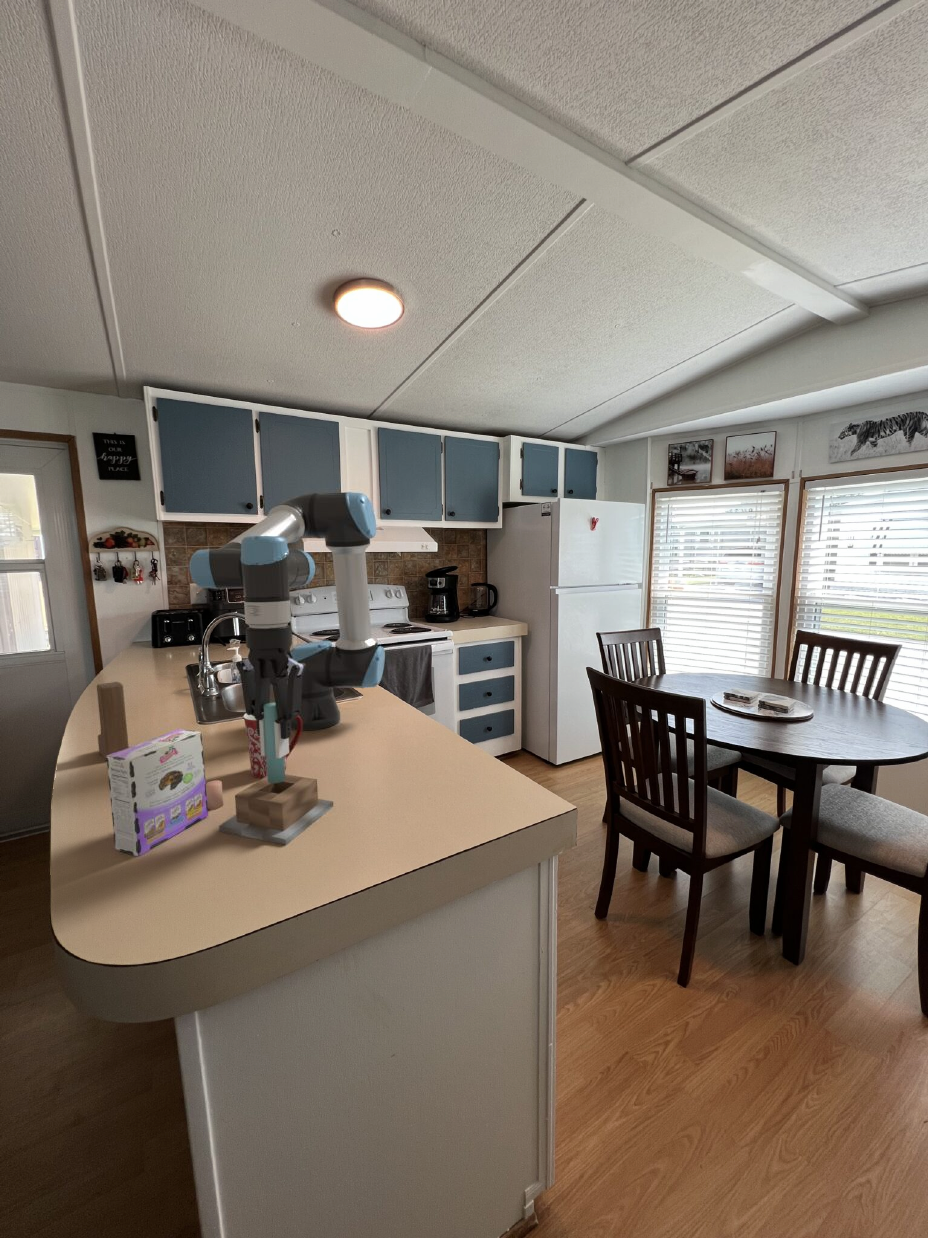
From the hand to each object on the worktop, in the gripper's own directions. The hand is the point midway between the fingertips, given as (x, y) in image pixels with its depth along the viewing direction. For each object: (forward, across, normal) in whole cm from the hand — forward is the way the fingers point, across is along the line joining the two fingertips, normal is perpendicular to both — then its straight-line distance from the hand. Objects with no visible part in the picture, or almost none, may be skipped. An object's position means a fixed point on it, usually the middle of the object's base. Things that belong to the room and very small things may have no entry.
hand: (275, 754), depth 92 cm
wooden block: (+12, -59, +13) cm, 62 cm away
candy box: (+13, -16, -10) cm, 23 cm away
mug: (+12, -15, +18) cm, 27 cm away
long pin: (+5, 0, 0) cm, 5 cm away
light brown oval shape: (+12, -15, 0) cm, 19 cm away
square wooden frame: (+12, 0, 0) cm, 12 cm away
